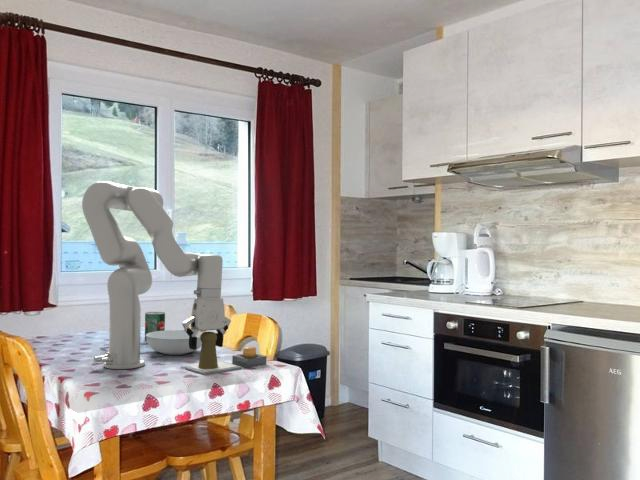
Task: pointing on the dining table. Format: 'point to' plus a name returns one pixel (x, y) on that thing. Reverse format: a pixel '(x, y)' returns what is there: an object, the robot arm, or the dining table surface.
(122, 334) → the robot arm
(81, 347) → the dining table surface
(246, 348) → the button
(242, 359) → the button housing
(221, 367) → the board
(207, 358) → the cork
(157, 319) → the canned tomato
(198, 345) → the serving bowl
